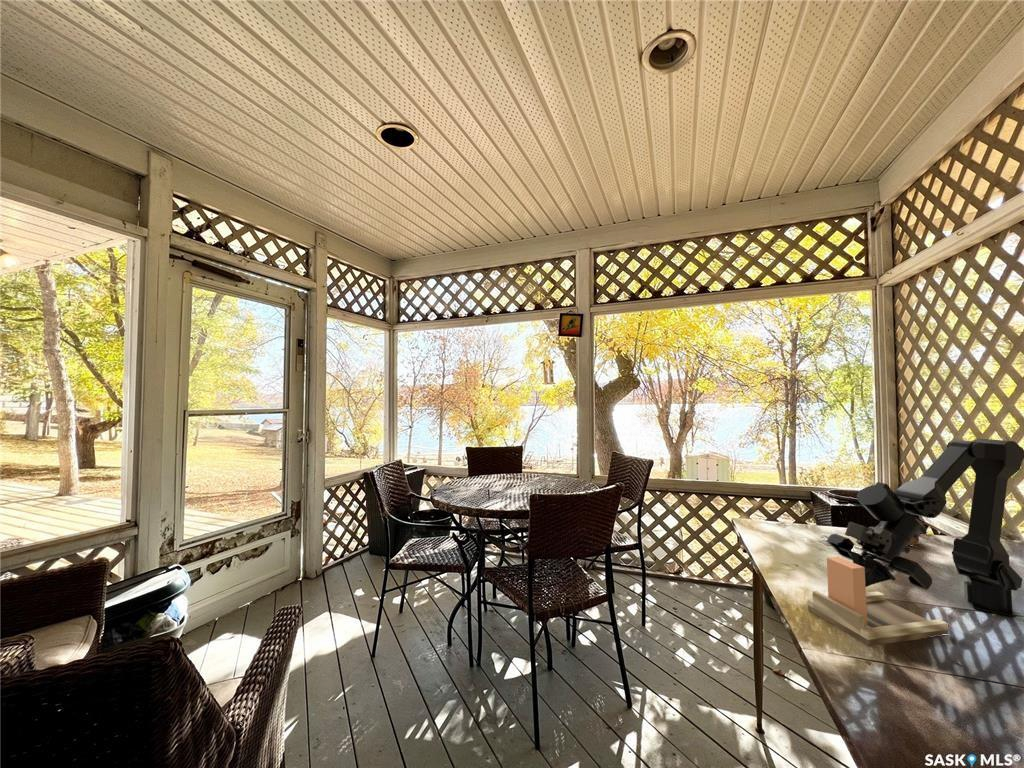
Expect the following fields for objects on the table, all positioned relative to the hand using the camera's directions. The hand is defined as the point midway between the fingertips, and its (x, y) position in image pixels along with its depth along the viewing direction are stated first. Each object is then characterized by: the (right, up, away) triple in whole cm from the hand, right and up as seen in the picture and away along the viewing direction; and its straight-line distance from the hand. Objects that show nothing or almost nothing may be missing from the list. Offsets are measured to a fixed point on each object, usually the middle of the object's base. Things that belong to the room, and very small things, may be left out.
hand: (853, 588), depth 89 cm
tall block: (-2, -6, 0) cm, 6 cm away
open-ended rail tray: (+5, -8, 0) cm, 9 cm away
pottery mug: (+54, -8, +47) cm, 73 cm away
